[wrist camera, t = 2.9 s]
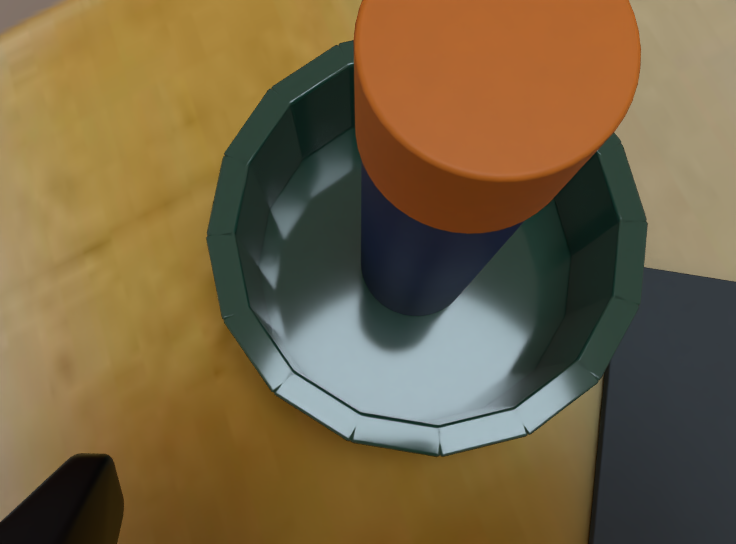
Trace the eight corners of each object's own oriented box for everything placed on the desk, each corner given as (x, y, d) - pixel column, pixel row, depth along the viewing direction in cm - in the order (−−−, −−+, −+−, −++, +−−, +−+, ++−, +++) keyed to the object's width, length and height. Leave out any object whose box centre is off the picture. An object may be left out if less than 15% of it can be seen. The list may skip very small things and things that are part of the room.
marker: (465, 328, 20) (630, 203, 8) (348, 309, 20) (330, 155, 8) (480, 215, 21) (655, -64, 8) (367, 198, 21) (378, -106, 8)
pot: (566, 470, 20) (625, 488, 15) (209, 411, 20) (167, 412, 16) (601, 132, 22) (662, 63, 17) (276, 82, 22) (255, 0, 18)
